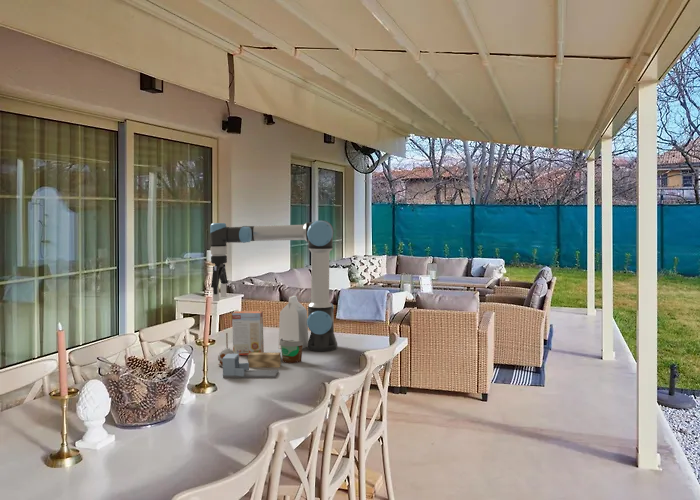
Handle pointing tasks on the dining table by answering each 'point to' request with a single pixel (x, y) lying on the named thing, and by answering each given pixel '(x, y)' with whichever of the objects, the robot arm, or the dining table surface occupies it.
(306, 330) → the milk
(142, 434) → the dining table surface
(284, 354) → the food container
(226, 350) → the decorative ornament
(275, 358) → the oak slat
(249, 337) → the cracker box
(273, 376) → the board
